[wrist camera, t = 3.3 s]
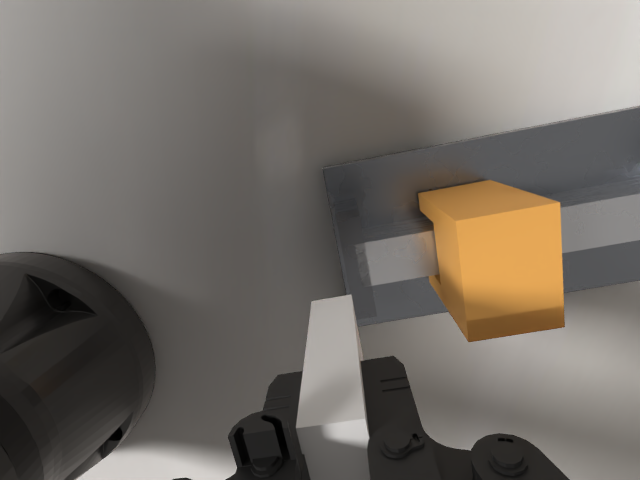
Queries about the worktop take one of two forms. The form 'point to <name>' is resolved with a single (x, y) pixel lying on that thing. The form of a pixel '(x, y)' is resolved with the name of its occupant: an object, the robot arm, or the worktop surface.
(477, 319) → the orange slider block
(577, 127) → the rail
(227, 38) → the worktop surface
